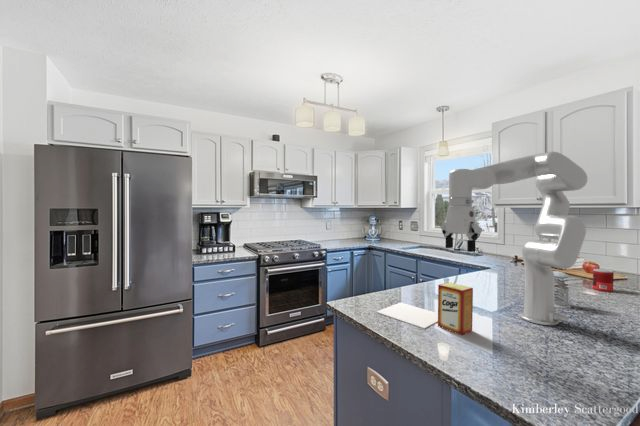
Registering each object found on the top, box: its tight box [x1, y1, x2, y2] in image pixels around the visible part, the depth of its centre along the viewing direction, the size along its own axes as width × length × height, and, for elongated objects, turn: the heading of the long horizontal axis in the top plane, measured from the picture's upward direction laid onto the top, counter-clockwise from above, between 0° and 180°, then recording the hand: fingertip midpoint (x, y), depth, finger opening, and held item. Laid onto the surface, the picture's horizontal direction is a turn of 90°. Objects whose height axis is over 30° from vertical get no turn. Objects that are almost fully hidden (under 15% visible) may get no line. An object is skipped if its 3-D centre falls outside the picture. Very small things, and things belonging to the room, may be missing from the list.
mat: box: [375, 302, 438, 330], centre depth 121 cm, size 22×18×1 cm
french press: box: [552, 270, 572, 309], centre depth 135 cm, size 10×12×25 cm
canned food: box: [592, 268, 614, 293], centre depth 158 cm, size 8×8×11 cm
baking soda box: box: [437, 281, 474, 336], centre depth 107 cm, size 10×6×16 cm
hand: (459, 249), depth 108 cm, fingers open, 9 cm apart
